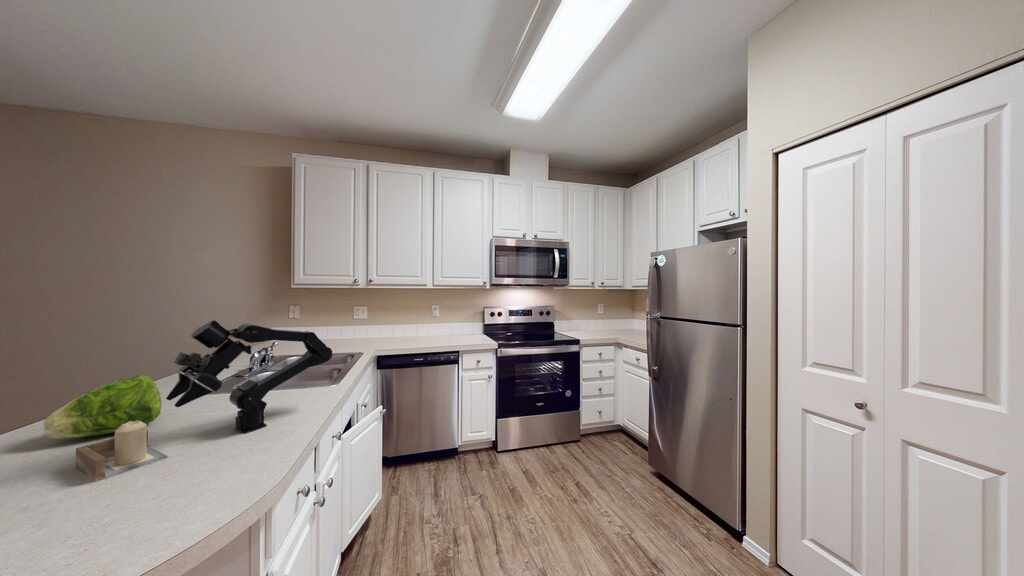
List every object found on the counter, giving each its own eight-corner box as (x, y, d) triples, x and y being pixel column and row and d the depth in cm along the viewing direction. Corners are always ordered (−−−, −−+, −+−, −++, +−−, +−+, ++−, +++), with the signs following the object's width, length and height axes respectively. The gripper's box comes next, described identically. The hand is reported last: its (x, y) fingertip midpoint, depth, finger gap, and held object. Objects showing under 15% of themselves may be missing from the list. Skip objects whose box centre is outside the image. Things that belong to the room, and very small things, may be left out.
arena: (145, 446, 96) (145, 429, 96) (167, 457, 90) (167, 439, 90) (75, 467, 84) (75, 448, 84) (95, 481, 79) (95, 460, 79)
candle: (116, 467, 83) (117, 428, 83) (112, 461, 86) (112, 423, 86) (148, 458, 88) (149, 421, 88) (143, 452, 91) (143, 416, 91)
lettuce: (55, 464, 97) (46, 415, 102) (168, 425, 115) (156, 385, 120) (38, 443, 87) (30, 391, 92) (164, 404, 105) (151, 362, 110)
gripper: (188, 338, 103) (135, 381, 94) (207, 345, 93) (149, 394, 83) (221, 359, 110) (173, 401, 100) (242, 367, 99) (191, 415, 90)
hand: (171, 402), depth 93 cm, fingers open, 9 cm apart
